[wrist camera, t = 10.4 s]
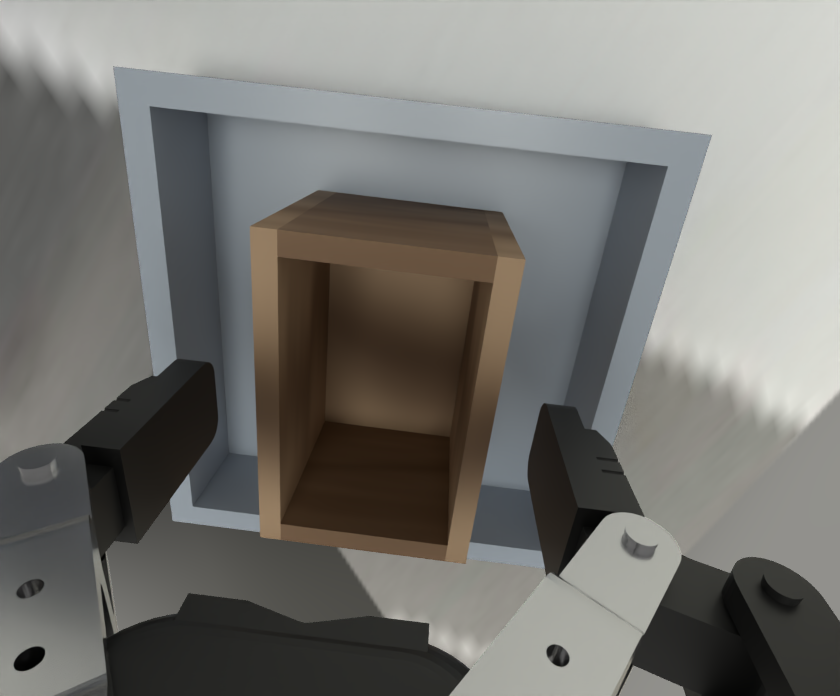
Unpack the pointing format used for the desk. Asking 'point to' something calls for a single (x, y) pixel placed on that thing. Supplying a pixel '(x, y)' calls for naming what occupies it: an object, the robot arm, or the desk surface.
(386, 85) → the desk surface
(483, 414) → the walnut crate
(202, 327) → the box
